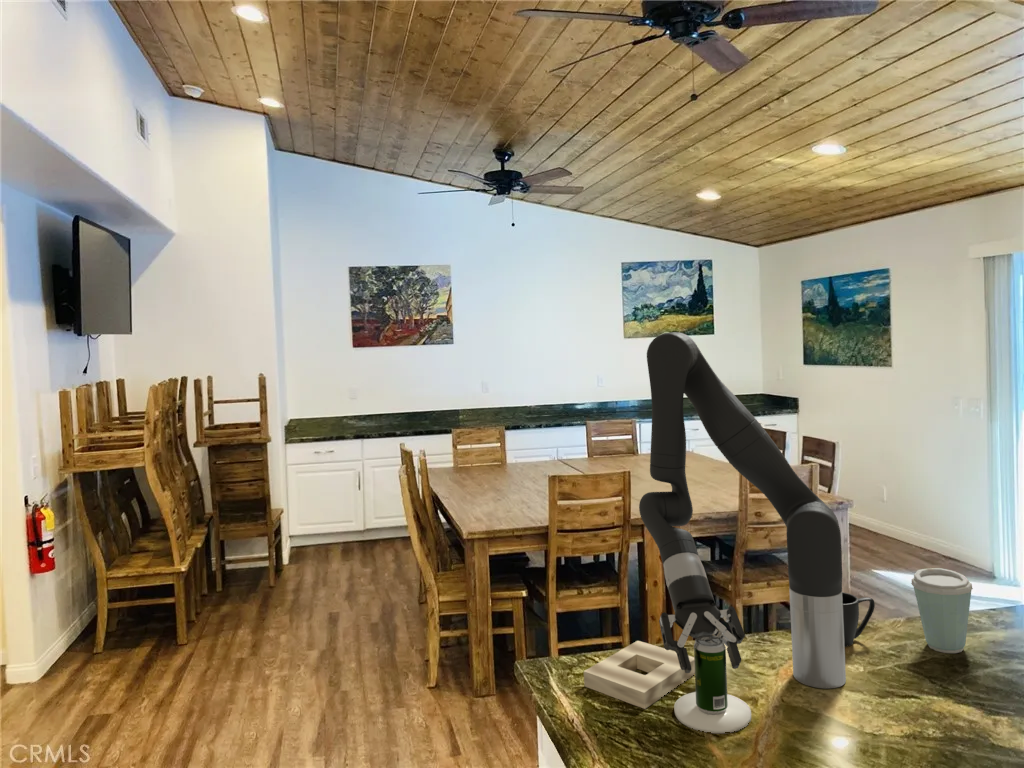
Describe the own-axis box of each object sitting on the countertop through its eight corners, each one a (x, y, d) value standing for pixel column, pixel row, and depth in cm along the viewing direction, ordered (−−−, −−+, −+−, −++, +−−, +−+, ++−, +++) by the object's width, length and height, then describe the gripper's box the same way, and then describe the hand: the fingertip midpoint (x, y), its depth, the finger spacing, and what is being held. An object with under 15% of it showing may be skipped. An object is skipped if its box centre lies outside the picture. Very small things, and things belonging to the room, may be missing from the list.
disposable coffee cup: (987, 657, 139) (985, 581, 138) (932, 660, 139) (929, 584, 138) (954, 635, 149) (951, 565, 149) (903, 638, 149) (900, 568, 149)
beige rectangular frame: (638, 654, 149) (637, 640, 149) (697, 672, 139) (696, 658, 139) (584, 686, 137) (583, 671, 137) (644, 709, 127) (644, 692, 127)
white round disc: (698, 688, 133) (698, 684, 133) (764, 710, 124) (764, 705, 124) (660, 716, 124) (659, 712, 124) (728, 742, 115) (728, 737, 115)
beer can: (734, 710, 123) (732, 642, 122) (710, 718, 120) (707, 649, 120) (713, 697, 128) (710, 632, 127) (689, 705, 125) (687, 638, 125)
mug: (886, 647, 146) (884, 601, 145) (828, 651, 146) (826, 605, 145) (865, 631, 154) (863, 588, 154) (810, 635, 154) (809, 592, 153)
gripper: (653, 576, 130) (676, 665, 119) (728, 570, 131) (758, 657, 120) (647, 595, 135) (668, 681, 124) (719, 589, 136) (746, 673, 125)
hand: (712, 669), depth 122 cm, fingers open, 8 cm apart
